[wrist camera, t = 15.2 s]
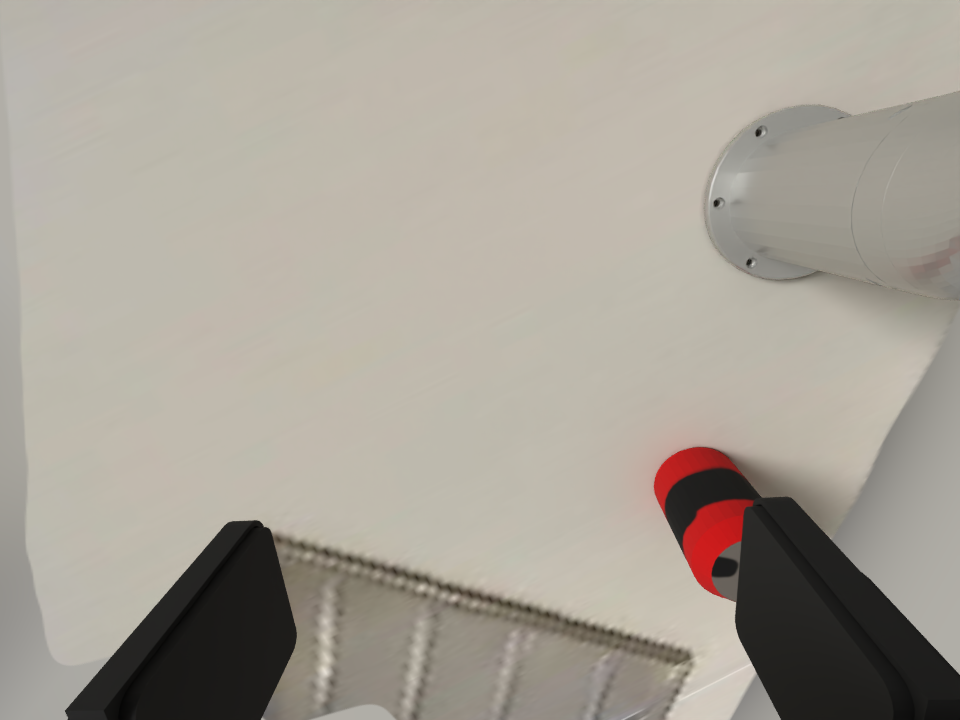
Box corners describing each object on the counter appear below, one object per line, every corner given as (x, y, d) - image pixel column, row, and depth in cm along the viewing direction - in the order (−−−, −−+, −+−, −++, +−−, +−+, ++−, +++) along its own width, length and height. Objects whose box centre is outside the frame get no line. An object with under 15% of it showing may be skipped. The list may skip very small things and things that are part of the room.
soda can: (662, 440, 46) (712, 520, 35) (745, 450, 46) (822, 533, 35) (645, 510, 49) (686, 607, 37) (724, 520, 48) (790, 619, 37)
